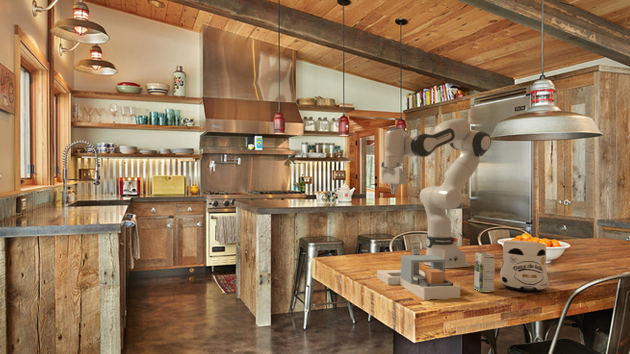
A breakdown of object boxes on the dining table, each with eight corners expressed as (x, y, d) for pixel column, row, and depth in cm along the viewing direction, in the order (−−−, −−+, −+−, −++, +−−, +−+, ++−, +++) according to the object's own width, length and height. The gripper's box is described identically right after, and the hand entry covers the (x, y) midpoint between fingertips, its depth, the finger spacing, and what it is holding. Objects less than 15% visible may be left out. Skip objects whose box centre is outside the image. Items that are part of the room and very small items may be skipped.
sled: (424, 274, 184) (425, 248, 184) (453, 288, 161) (453, 259, 161) (402, 274, 182) (402, 248, 182) (427, 289, 159) (428, 260, 159)
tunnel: (432, 276, 181) (433, 254, 181) (444, 282, 171) (445, 259, 171) (400, 277, 178) (401, 255, 178) (410, 283, 168) (411, 260, 168)
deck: (418, 276, 195) (418, 265, 195) (460, 298, 160) (460, 286, 160) (377, 277, 191) (377, 266, 191) (410, 300, 156) (411, 288, 156)
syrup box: (473, 289, 174) (474, 252, 174) (487, 289, 174) (488, 252, 174) (480, 293, 168) (480, 254, 168) (495, 292, 169) (495, 255, 169)
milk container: (527, 296, 164) (527, 248, 164) (490, 285, 180) (491, 241, 180) (558, 292, 172) (559, 245, 172) (520, 281, 187) (521, 239, 187)
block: (437, 284, 168) (437, 268, 168) (443, 288, 163) (443, 271, 163) (424, 285, 167) (425, 269, 167) (430, 288, 162) (431, 272, 162)
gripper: (410, 163, 191) (410, 195, 191) (392, 163, 211) (392, 192, 211) (396, 163, 190) (396, 195, 190) (379, 163, 210) (379, 192, 210)
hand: (394, 193), depth 201 cm, fingers closed
